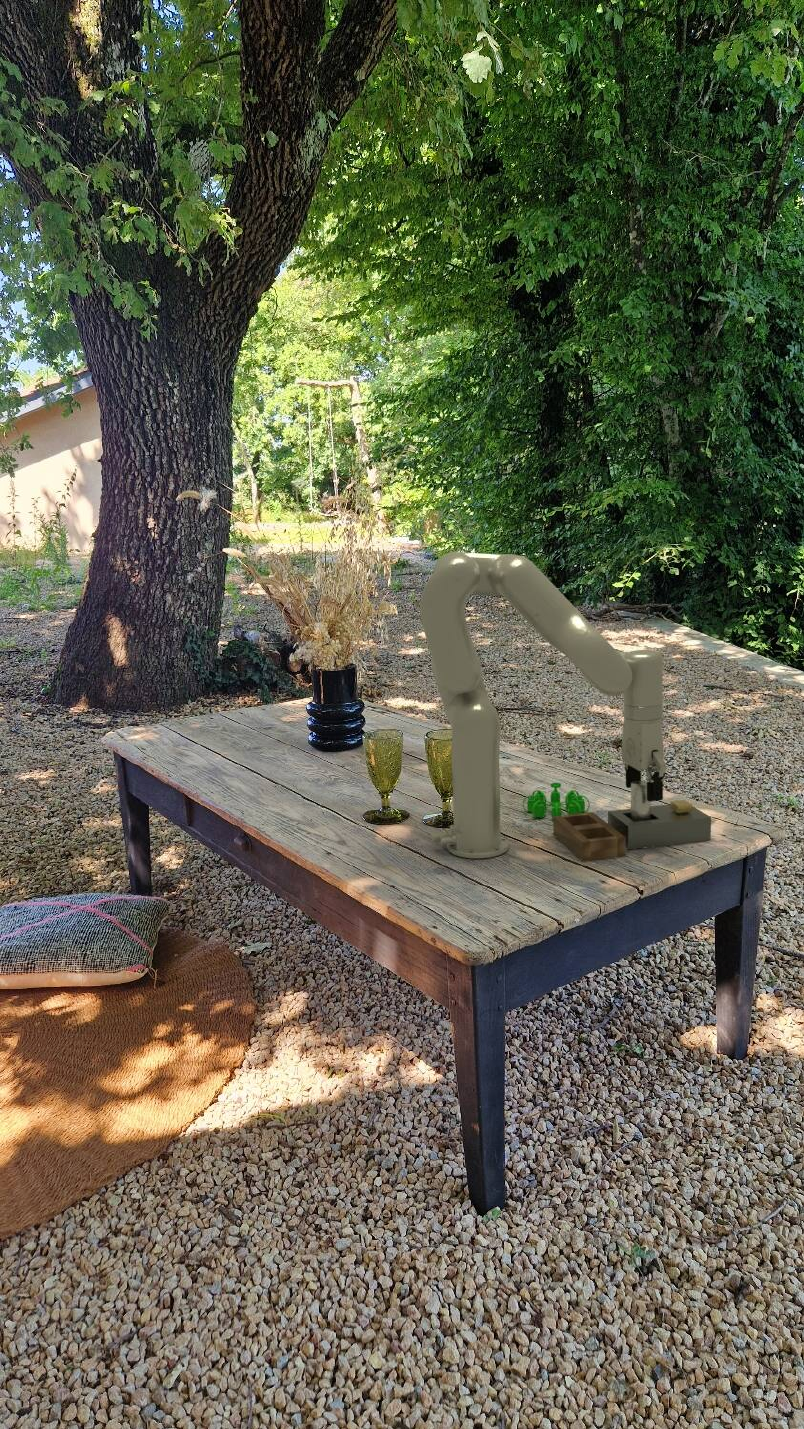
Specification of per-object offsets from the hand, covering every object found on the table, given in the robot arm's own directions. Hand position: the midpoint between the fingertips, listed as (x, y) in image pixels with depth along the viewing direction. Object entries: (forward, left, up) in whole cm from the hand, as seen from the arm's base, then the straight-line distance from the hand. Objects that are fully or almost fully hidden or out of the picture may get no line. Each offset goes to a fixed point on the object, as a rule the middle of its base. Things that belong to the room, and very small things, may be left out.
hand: (643, 793), depth 185 cm
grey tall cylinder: (-1, 0, -10) cm, 10 cm away
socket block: (+3, 0, -10) cm, 10 cm away
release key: (+8, 0, -10) cm, 13 cm away
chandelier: (-11, +22, -10) cm, 26 cm away
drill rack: (-12, 0, -10) cm, 16 cm away
